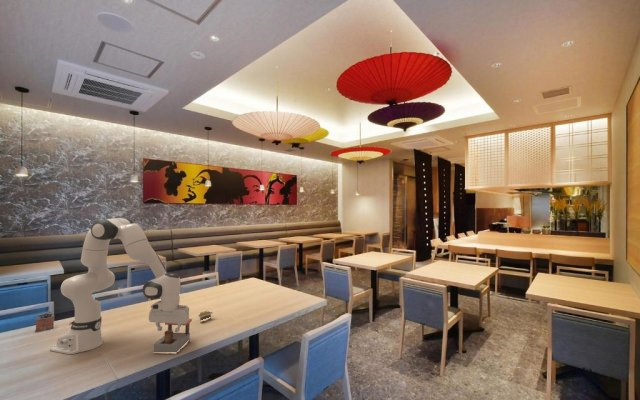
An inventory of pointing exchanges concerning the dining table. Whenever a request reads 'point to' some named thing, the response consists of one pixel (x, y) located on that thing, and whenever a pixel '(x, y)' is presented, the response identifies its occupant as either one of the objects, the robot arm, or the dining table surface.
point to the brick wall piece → (44, 322)
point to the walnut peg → (168, 337)
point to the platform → (205, 315)
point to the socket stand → (178, 340)
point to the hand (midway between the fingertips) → (168, 330)
